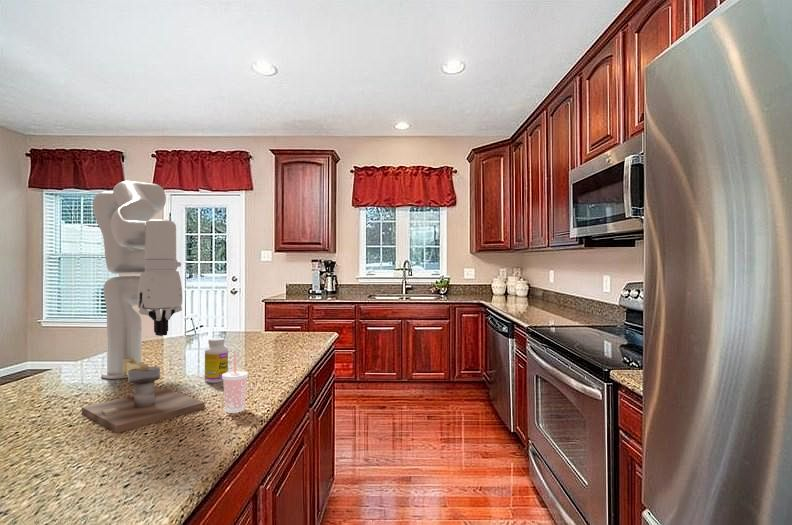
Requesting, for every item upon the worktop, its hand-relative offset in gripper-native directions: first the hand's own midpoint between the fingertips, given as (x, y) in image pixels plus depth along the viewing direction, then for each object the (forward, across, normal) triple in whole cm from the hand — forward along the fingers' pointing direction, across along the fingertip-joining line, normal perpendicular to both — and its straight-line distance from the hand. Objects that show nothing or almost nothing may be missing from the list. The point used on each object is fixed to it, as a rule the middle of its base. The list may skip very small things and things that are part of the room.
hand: (161, 335), depth 119 cm
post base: (+17, +7, +6) cm, 19 cm away
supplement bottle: (+17, -19, -6) cm, 26 cm away
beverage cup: (+18, -7, +22) cm, 30 cm away
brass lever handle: (+10, +7, +3) cm, 12 cm away
